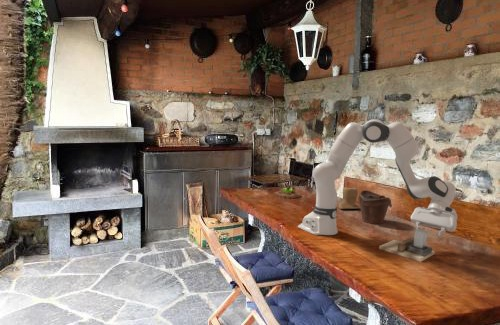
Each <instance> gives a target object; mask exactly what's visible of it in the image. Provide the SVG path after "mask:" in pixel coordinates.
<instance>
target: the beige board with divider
mask: <svg viewBox="0 0 500 325" xmlns="http://www.w3.org/2000/svg"><path fill="white" fill-rule="evenodd" d="M413 246H414V236H410V237H409V238H407V239H404V240H402V241H401V240H397V239H392V240H390V241H387V242H385V243H383V244H380V245H379V246H378V247H379V248H378V249H379V250H381V251H384V252H388V253H391V254H395V255H398V256H400V257H404V258H407V259H411V260H412V261H413V260H414V261H417V262H421V263H422V262H423V261H425V260H427V259H428V258H430V257H432V256H433V255H435V250H433V247H432V246H427V245H426V249H425V250H421V249H417V248H414V247H413Z"/></svg>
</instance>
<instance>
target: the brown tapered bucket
mask: <svg viewBox="0 0 500 325" xmlns="http://www.w3.org/2000/svg"><path fill="white" fill-rule="evenodd" d="M357 201H358V203H359V207H360V208H359V209H360V214H361V220H362V221H363V222H365V223H368V224H372V225H373V224H374V225H375V224H376V225H377V224H378V225H381V224H383V223H384V221H385V217H386V215H387V212H388V208H392V207H393V205H392V204H393V203H392V200H391V198H390V197H386V196H385V195H381V194H378V193H375V192H374V191H373V192H372V191H370V190H362V191H360V193H359V196H358V197H357Z"/></svg>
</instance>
